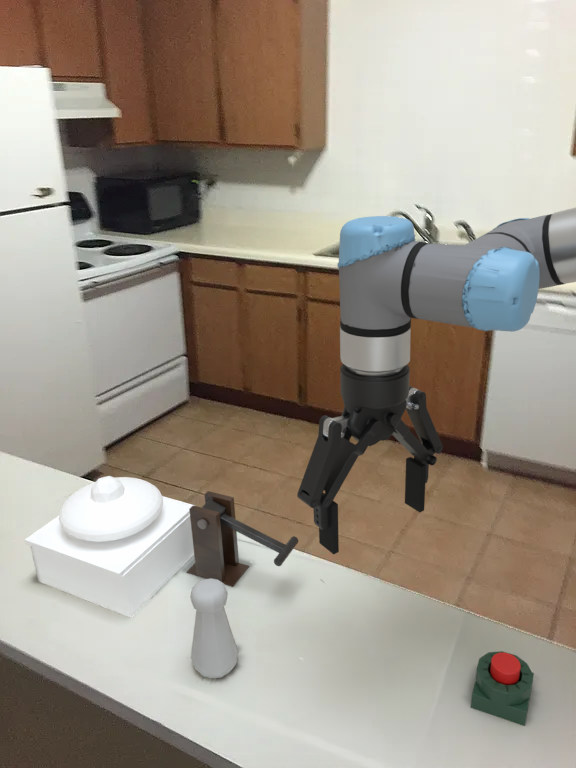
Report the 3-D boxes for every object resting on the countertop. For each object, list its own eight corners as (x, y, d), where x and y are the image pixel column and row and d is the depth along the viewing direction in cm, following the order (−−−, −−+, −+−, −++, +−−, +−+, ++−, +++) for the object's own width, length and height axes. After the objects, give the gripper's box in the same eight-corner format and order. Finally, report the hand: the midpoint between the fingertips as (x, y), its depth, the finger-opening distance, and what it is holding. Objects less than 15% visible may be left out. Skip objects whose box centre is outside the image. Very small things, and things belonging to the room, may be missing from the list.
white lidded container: (203, 550, 105) (194, 463, 99) (129, 626, 91) (112, 529, 85) (117, 523, 113) (103, 440, 107) (36, 588, 99) (14, 497, 92)
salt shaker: (185, 682, 82) (174, 598, 77) (204, 647, 87) (195, 567, 82) (229, 692, 80) (221, 607, 75) (246, 656, 85) (239, 575, 80)
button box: (532, 686, 80) (536, 661, 78) (525, 726, 75) (529, 700, 73) (480, 669, 82) (482, 645, 81) (469, 708, 77) (472, 682, 76)
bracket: (251, 570, 101) (246, 498, 96) (231, 595, 96) (225, 520, 91) (206, 556, 104) (199, 486, 99) (185, 580, 99) (176, 507, 94)
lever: (296, 547, 95) (300, 535, 94) (279, 571, 90) (283, 558, 89) (213, 505, 99) (215, 493, 98) (193, 526, 94) (195, 513, 93)
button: (521, 668, 78) (522, 657, 77) (516, 689, 75) (518, 677, 74) (492, 660, 79) (494, 648, 78) (487, 680, 76) (489, 668, 76)
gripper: (431, 330, 82) (425, 479, 90) (259, 382, 69) (270, 550, 78) (479, 346, 76) (468, 504, 84) (301, 405, 63) (308, 584, 72)
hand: (373, 526), depth 81 cm, fingers open, 13 cm apart
